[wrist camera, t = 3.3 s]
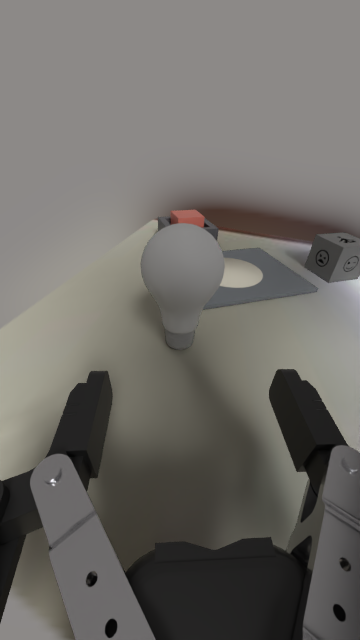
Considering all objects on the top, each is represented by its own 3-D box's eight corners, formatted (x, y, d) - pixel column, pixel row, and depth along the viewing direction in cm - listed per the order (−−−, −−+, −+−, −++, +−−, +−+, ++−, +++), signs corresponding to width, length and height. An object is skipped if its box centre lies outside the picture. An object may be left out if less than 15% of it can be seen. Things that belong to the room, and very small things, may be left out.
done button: (194, 223, 45) (195, 209, 44) (203, 231, 42) (204, 216, 41) (170, 225, 44) (170, 210, 43) (177, 233, 41) (178, 218, 40)
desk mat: (258, 250, 43) (259, 247, 43) (316, 291, 32) (318, 287, 32) (154, 260, 38) (154, 256, 38) (183, 312, 28) (183, 308, 27)
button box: (198, 233, 49) (200, 214, 47) (215, 249, 43) (218, 228, 41) (158, 236, 47) (157, 217, 45) (170, 253, 41) (170, 231, 39)
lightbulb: (153, 323, 26) (148, 210, 20) (212, 328, 26) (228, 215, 19) (139, 367, 21) (127, 237, 15) (212, 374, 21) (233, 244, 14)
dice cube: (328, 283, 35) (343, 247, 32) (304, 267, 39) (316, 234, 35) (357, 279, 36) (374, 244, 33) (331, 264, 40) (344, 232, 37)
